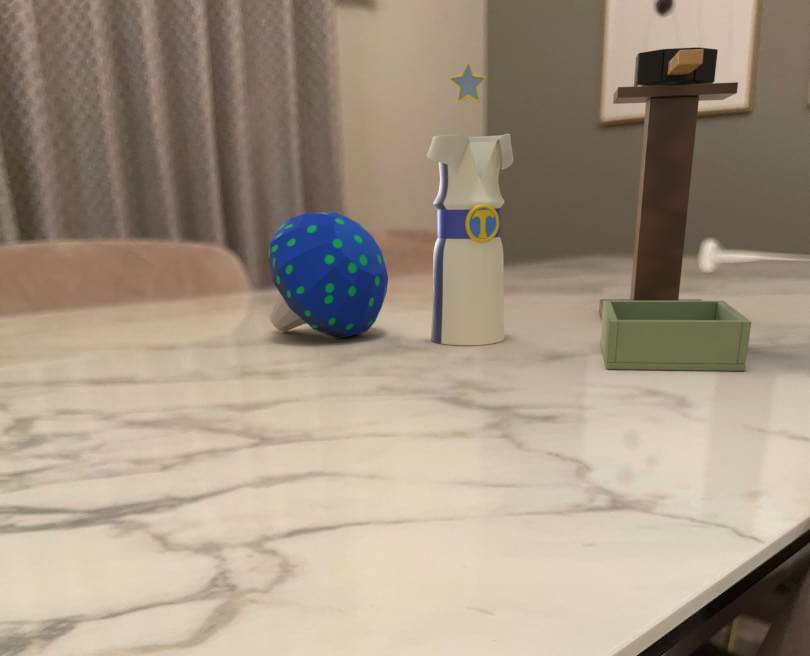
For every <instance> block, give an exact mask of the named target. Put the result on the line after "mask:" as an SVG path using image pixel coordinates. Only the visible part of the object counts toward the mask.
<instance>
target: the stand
mask: <svg viewBox="0 0 810 656" xmlns="http://www.w3.org/2000/svg"><path fill="white" fill-rule="evenodd" d="M738 86H739V82H737V81H735V82H713V83H708V84H683V85H658V86H634V85H633V86H617V87H616V89H615V91H614V93H613V96H612V97H613V98H612V100H613V101H612V104H613V105H620V104H623V105H624V104H645V110H644V123H643V133H642V134H643V135H642V145H641V161H640V171H639V172H640V173H639V183H638V185H639V186H638V197H637V209H636V210H637V211H636V222H635V232H634V233H635V234H634V244H633V246H634V247H633V259H632V272H631V282H630V283H631V284H630V295H629V298H615V299H614V298H601V299H599V309H598V312H599V315H600V320H601V321H602V312H603V301H703V300H702V299H701V298H690V299H689V298H680V288H681V279H682V269H683V259H684V250H685V241H686V240H685V239H686V229H687V220H688V219H687V218H688V211H689V210H688V209H689V199H690V190H691V181H692V172H693V162H694V161H693V160H694V151H695V141H696V132H697V123H698V112H699V102H701V101H704V102H705V101H706V102H707V101H724V100H726V99H728V98H730V97H732V96H734V95H736V94H737V93H738V88H739V87H738Z"/></svg>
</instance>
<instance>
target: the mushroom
mask: <svg viewBox="0 0 810 656" xmlns="http://www.w3.org/2000/svg"><path fill="white" fill-rule="evenodd" d="M267 260H268V265H269V269H270V274H271V279H272V283H273V284H274V286H275V287H276V289H277V291H278V292H279V294H278V297H277V300H276V303H275V304H274V307H273V309H272V310H271V312H270V315H269V319H270V322H271V323H272V325H273V327H274V328H275V329H277V331H281V332H282V333H283V332H287V331H290V330H292V329H295V328H298V327H300V326H302V325H308V326H309V327H310V328H311V329H312V330H315V331H317V332H319V333H322V334H325V335H327V336H330V337H333V338H335V339H339V338H348V337H352V336H355V335H359V334H362V333H366V332H368V331H369V329H371V327H372V326H373V325H374V324H375V323H376V321H377V319H378V316H379V314H380V312H381V310H382V307H383V305H384V302H385V298H386V295H387V293H388V283H389V276H388V271H387V266H386V262H385V259H384V255H383V251H382V249H381V248H380V246H379V244H378V243H377V242H376V239H375V238H374V236H372V234H371V233H370V232H369V231H368V230H367V229H366V228H365V227H363V226H362V224H360V222H357V221H355V220H353V219H351V218H349V217H348V216H345V215H343V214H340V213H338V212H335V211H334V212H331V211H330V212H329V211H327V212H326V211H325V212H324V211H323V212H322V211H319V212H306V213H302V214H298V215H296V216H294V217H290V218H289V219H287V220H286V221H284V222H283V223H282V224H280V225H279V226H278V228H277V230H276V232H275V233H274V236H273V238H272V239H271V241H270V244H269V249H268V253H267Z"/></svg>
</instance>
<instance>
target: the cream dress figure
mask: <svg viewBox="0 0 810 656" xmlns="http://www.w3.org/2000/svg"><path fill="white" fill-rule="evenodd" d="M473 72H474V71H473V70H472V67H471V65H470V62H467V63H466V65H465V67H464V69H463V71H462V73H461V75H455V76H450V77H449V81H451V82H452V83H453V84H454V85H455V86H456V87H457V88H458V93H457V98H456V99H457V100H456V103H457V104H459V103H461V102H464V101H465V100H466V99H471V100H473V101H475V102H477V103H480V97H479V96H480V95H479V91H478V88H479V87H480V86H481V85H482V84H483V83H484V82H485V81H486V80H487V79H488V77H487V76H484V75H477V74H474V73H473ZM511 139H512V138H511V134H510V133H504V134H501V135H499V134H498V135H486V136H484V135H483V136H481V135H479V136H467V135H466V134H462V133H453V134H452V133H451V134H441V135H433V137H432V140H431V143H430V145H429V148H428V151H427V154H426V157H427V159H429V160H430V161H432V162H435V163H438V169H439V185H438V186H439V187H438V192H437V195H436V197H435V199H434V201H433V205H434V207H435V208H436V209H437V237H436V238H437V239H436V240H435V243H434V248H433V255H432V256H433V258H432V263H433V264H432V308H431V309H432V311H431V312H432V313H431V330H430V331H431V332H430V336H431V337H430V340H431V342H433V343H436V344H441V345H449V346H483V345H484V346H485V345H493V344H497V343H500V342H503V341H504V340H505V314H504V312H505V311H504V309H505V308H504V275H505V274H504V272H505V271H504V267H505V265H504V263H505V260H504V259H505V258H504V245H503V242H502V238H501V211H502V210H501V209H502V207H503V205H504V204H505V199H504V198H503V196H502V193H501V190H500V189H501V188H500V183H499V176H500V170H501V171H504V170H506V169H508V168H509V167H511V166H512V165H513V163H514V161H515V159H514V153H513V147H512V140H511Z"/></svg>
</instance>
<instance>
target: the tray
mask: <svg viewBox="0 0 810 656" xmlns="http://www.w3.org/2000/svg"><path fill="white" fill-rule="evenodd" d="M751 326H752V321H750V319H748V318H747V317H745V316H744V315H743V314H741V312H739V311H737V310H736V309H735V308H734V307H732V306H731V305H730V304H728V303H727V302H725V300H702V301H603V312H602V320H601V328H600V340H599V341H600V345H601V351H602V354H603V359H604V363H605V368H606V370H635V371H636V370H638V371H639V370H640V371H642V370H643V371H645V370H646V371H703V372H704V371H709V372H711V371H712V372H714V371H715V372H719V371H720V372H745V371H746V363H747V356H748V350H749V341H750V334H751Z"/></svg>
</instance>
